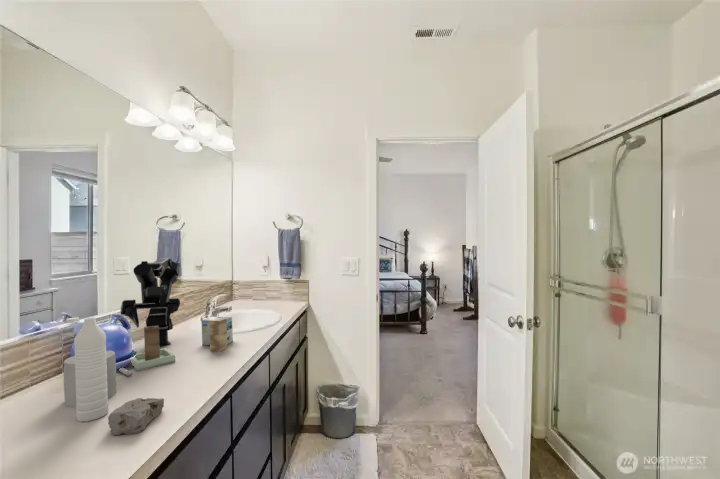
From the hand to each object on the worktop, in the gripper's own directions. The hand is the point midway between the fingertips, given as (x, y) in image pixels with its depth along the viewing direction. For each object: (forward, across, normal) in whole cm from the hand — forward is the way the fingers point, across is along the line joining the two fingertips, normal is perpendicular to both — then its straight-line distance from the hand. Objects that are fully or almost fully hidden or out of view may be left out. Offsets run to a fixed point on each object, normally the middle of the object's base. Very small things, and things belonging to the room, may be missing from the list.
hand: (152, 325), depth 130 cm
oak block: (+9, +24, +7) cm, 26 cm away
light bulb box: (+3, +26, +14) cm, 30 cm away
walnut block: (+9, +1, +9) cm, 13 cm away
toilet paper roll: (+25, -18, -5) cm, 31 cm away
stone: (+41, -10, -24) cm, 49 cm away
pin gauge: (+14, -8, +5) cm, 17 cm away
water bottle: (+33, -19, -15) cm, 41 cm away
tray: (+9, +1, +10) cm, 13 cm away
